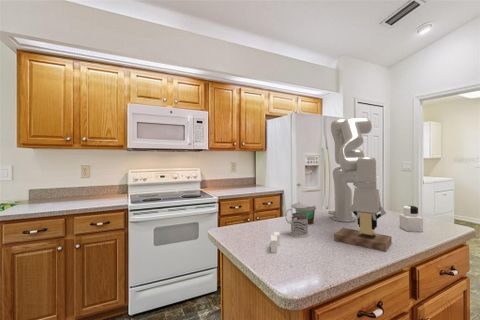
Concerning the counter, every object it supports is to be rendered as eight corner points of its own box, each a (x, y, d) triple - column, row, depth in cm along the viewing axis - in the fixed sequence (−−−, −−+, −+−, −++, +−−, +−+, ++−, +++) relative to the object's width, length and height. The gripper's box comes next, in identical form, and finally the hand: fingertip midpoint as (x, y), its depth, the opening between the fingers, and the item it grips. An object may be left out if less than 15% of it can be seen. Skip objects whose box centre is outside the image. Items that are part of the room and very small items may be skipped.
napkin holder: (276, 257, 90) (276, 242, 90) (254, 249, 98) (254, 235, 98) (298, 247, 100) (298, 233, 100) (277, 240, 108) (276, 228, 108)
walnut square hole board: (334, 240, 106) (334, 233, 106) (343, 233, 114) (343, 227, 114) (385, 251, 92) (385, 243, 92) (391, 243, 101) (391, 236, 101)
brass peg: (360, 233, 102) (359, 212, 102) (362, 230, 105) (362, 210, 105) (371, 235, 99) (371, 213, 99) (374, 232, 102) (373, 211, 102)
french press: (311, 238, 109) (310, 184, 109) (285, 236, 112) (284, 184, 112) (309, 231, 119) (308, 182, 119) (285, 230, 121) (285, 182, 121)
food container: (293, 224, 133) (293, 206, 133) (294, 221, 139) (294, 204, 139) (316, 225, 130) (316, 207, 130) (316, 222, 135) (316, 205, 135)
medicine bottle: (413, 227, 123) (413, 204, 123) (423, 232, 116) (422, 207, 116) (399, 227, 123) (399, 204, 123) (407, 231, 116) (407, 207, 116)
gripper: (343, 185, 105) (344, 226, 105) (387, 187, 94) (388, 233, 94) (348, 183, 110) (349, 222, 110) (390, 186, 99) (391, 229, 99)
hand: (367, 227), depth 102 cm, fingers closed on brass peg, 4 cm apart
